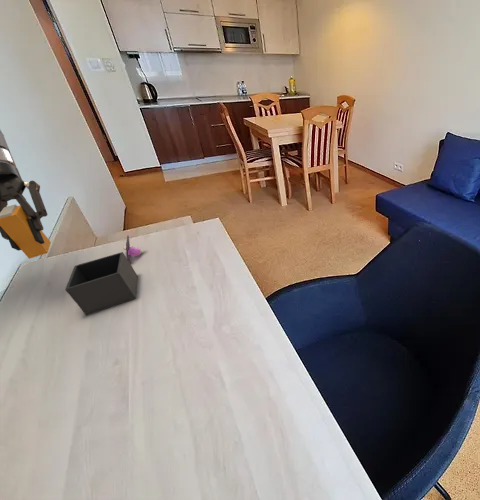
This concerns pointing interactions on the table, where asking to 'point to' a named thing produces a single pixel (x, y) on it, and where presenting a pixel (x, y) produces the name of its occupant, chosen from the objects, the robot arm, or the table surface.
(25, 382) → the table surface
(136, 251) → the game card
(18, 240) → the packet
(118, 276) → the bin
